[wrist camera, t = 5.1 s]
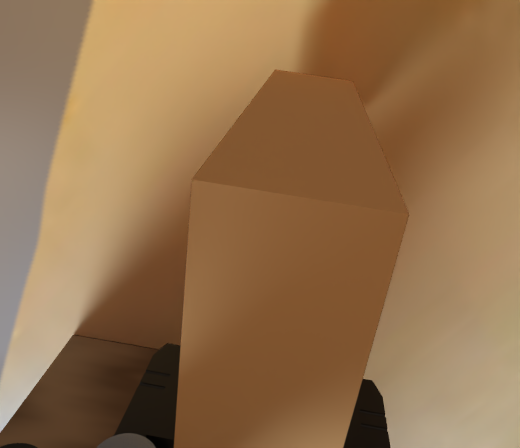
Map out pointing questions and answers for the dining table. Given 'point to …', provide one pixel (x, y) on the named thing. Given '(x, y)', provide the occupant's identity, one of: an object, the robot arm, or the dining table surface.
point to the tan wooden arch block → (286, 270)
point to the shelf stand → (80, 395)
